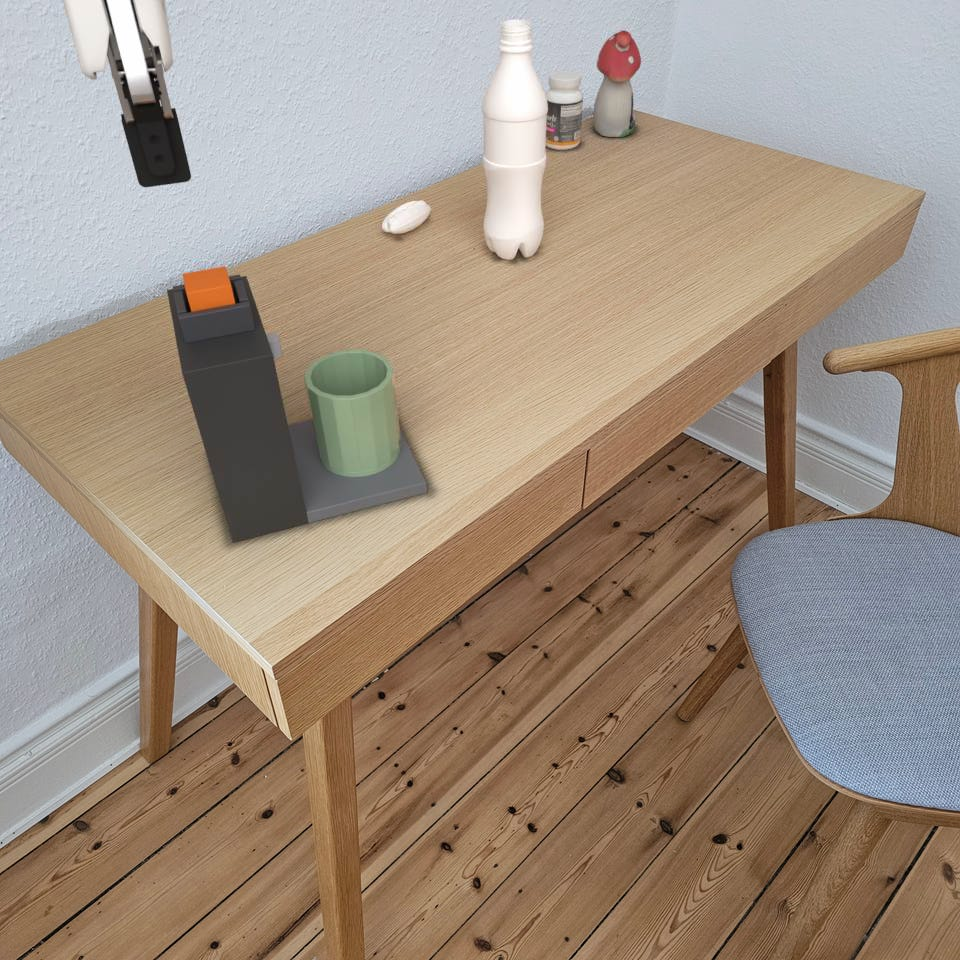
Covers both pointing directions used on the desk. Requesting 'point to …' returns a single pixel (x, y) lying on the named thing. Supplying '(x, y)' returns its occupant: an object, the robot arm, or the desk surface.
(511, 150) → the water bottle
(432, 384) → the desk surface
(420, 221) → the white oval pebble
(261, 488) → the coffee maker
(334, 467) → the cup
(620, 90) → the decorative ornament
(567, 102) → the pill bottle
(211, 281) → the button
